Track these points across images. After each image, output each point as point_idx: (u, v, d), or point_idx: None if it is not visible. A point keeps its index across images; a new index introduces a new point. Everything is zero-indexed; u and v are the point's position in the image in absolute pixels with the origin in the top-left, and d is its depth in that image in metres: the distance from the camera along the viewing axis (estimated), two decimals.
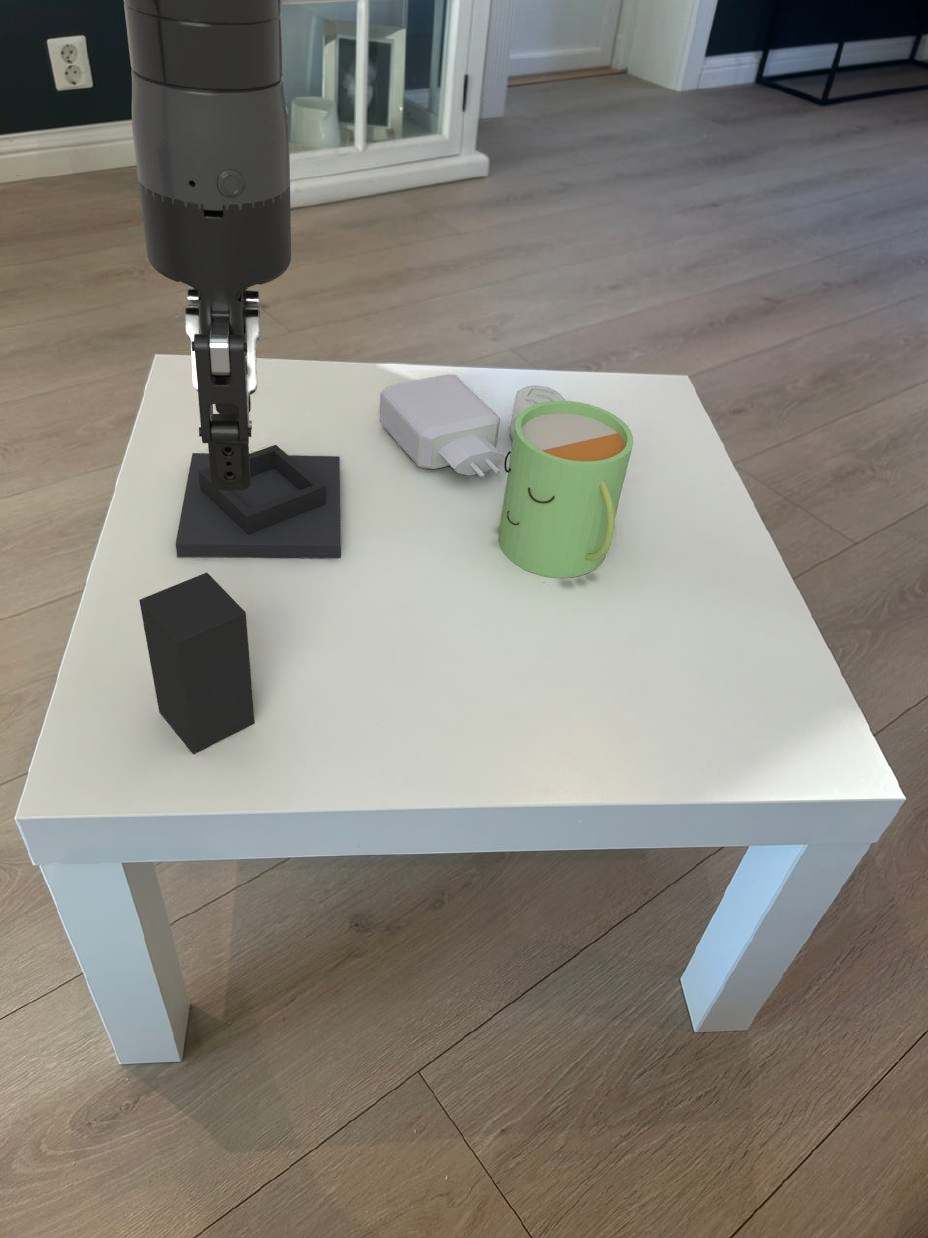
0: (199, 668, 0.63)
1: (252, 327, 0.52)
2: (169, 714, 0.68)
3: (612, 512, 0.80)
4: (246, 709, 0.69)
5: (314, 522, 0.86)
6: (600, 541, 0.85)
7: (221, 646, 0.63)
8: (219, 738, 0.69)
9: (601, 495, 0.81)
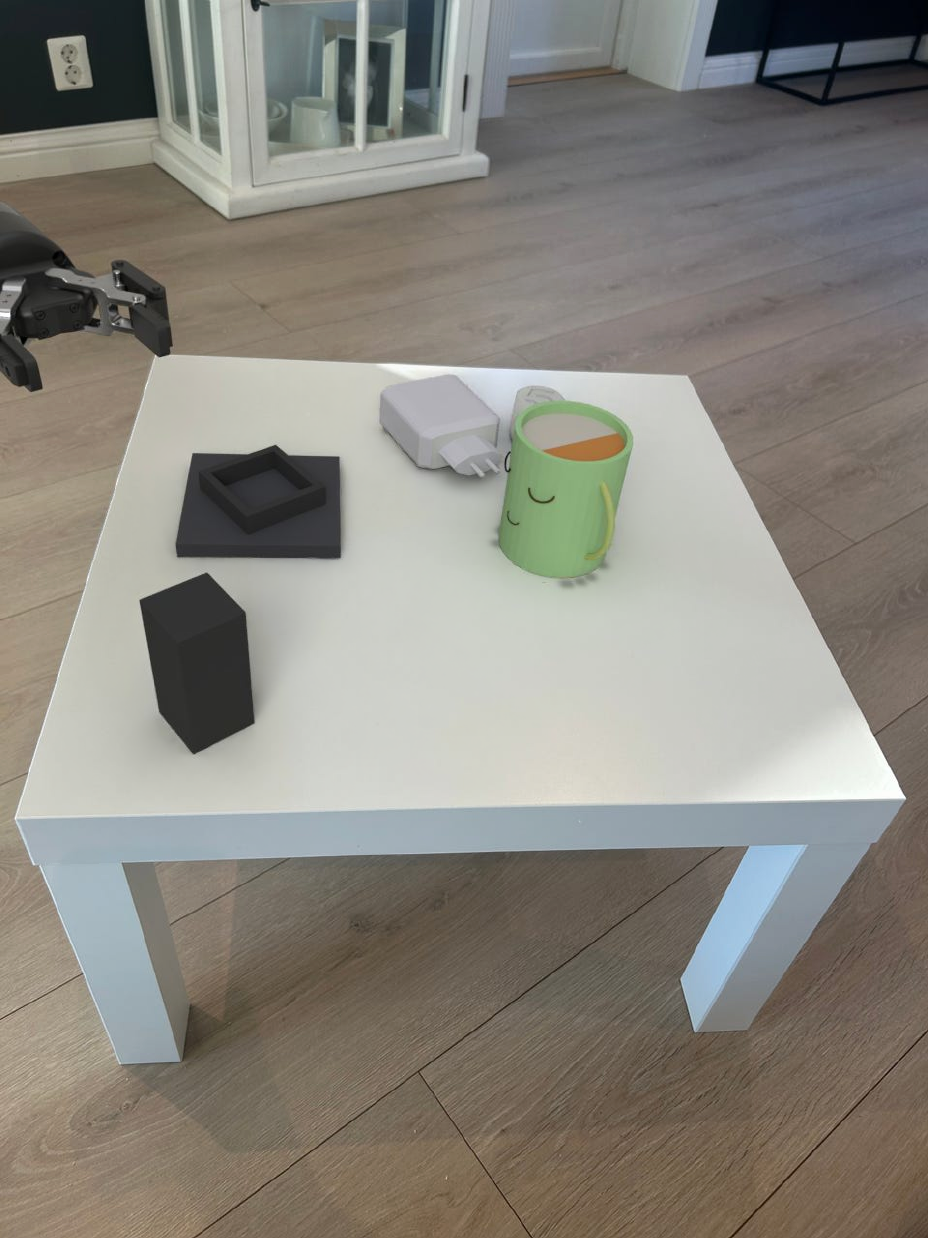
0: (199, 668, 0.63)
1: None
2: (169, 714, 0.68)
3: (612, 512, 0.80)
4: (246, 709, 0.69)
5: (314, 522, 0.86)
6: (600, 541, 0.85)
7: (221, 646, 0.63)
8: (219, 738, 0.69)
9: (601, 495, 0.81)
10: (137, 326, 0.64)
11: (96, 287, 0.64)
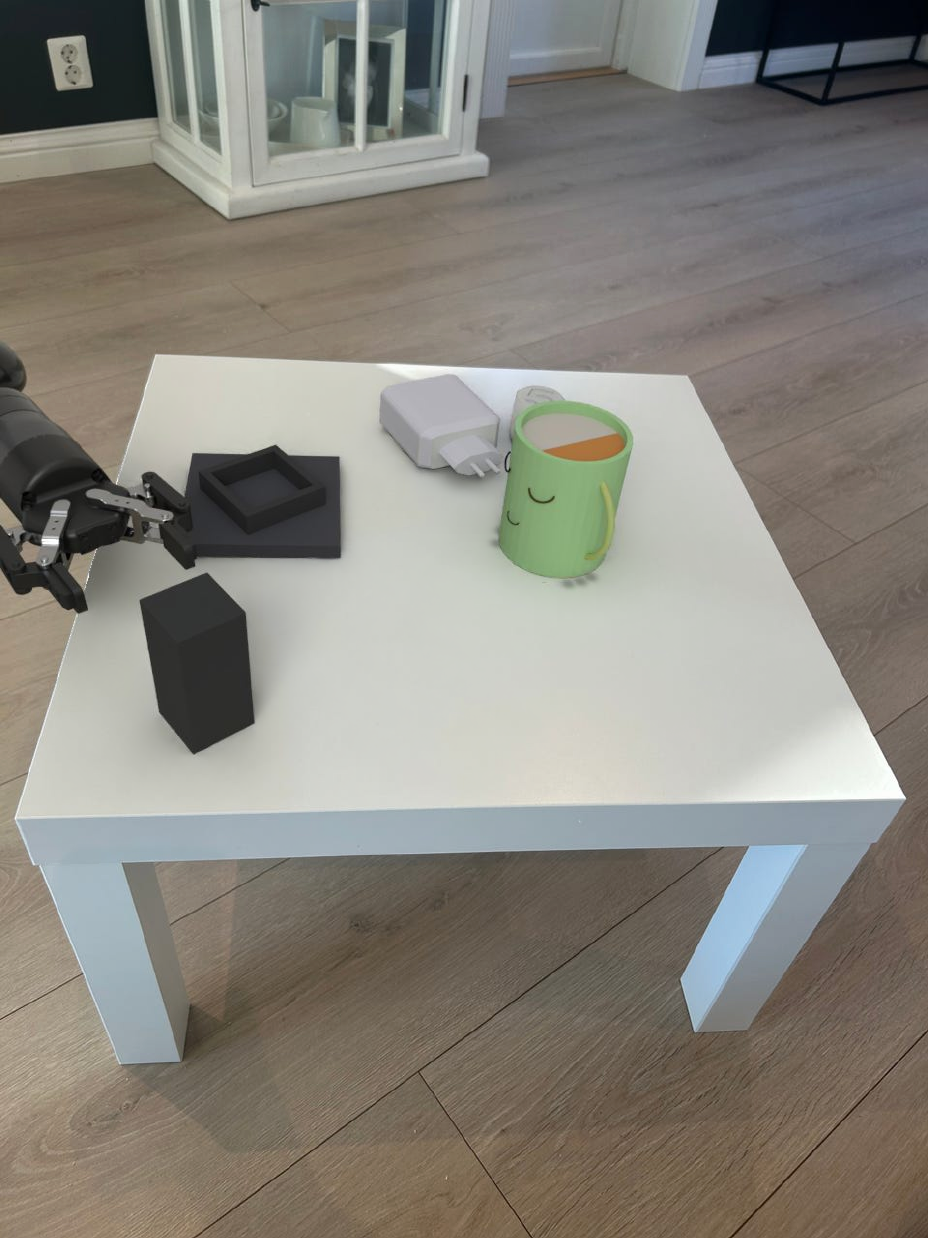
0: (199, 668, 0.63)
1: None
2: (169, 714, 0.68)
3: (612, 512, 0.80)
4: (246, 709, 0.69)
5: (314, 522, 0.86)
6: (600, 541, 0.85)
7: (221, 646, 0.63)
8: (219, 738, 0.69)
9: (601, 495, 0.81)
10: (166, 541, 0.74)
11: (131, 508, 0.74)
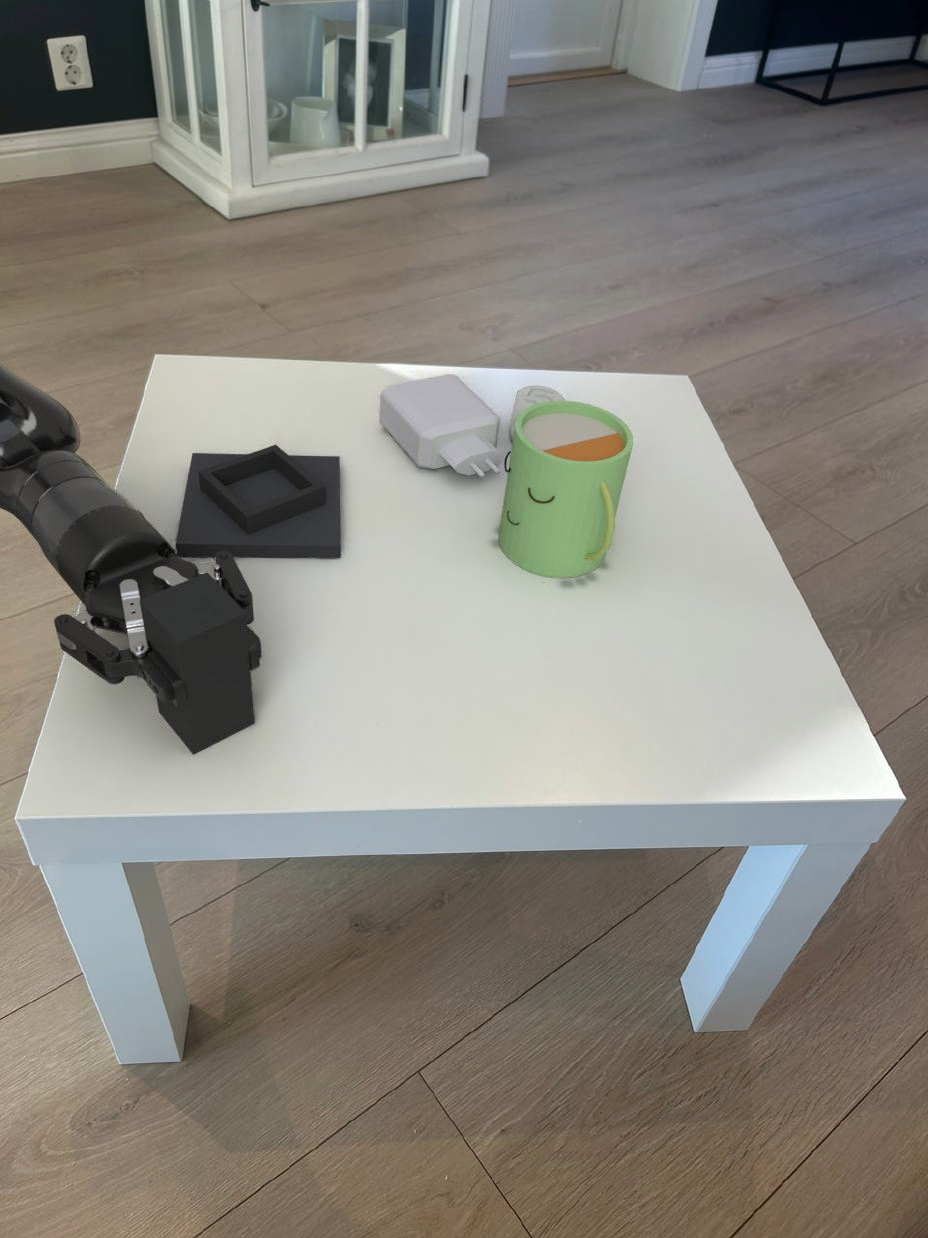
0: (199, 669, 0.63)
1: (121, 594, 0.67)
2: (169, 714, 0.68)
3: (612, 512, 0.80)
4: (246, 710, 0.69)
5: (314, 522, 0.86)
6: (600, 541, 0.85)
7: (222, 646, 0.63)
8: (219, 738, 0.69)
9: (601, 495, 0.81)
10: None
11: None
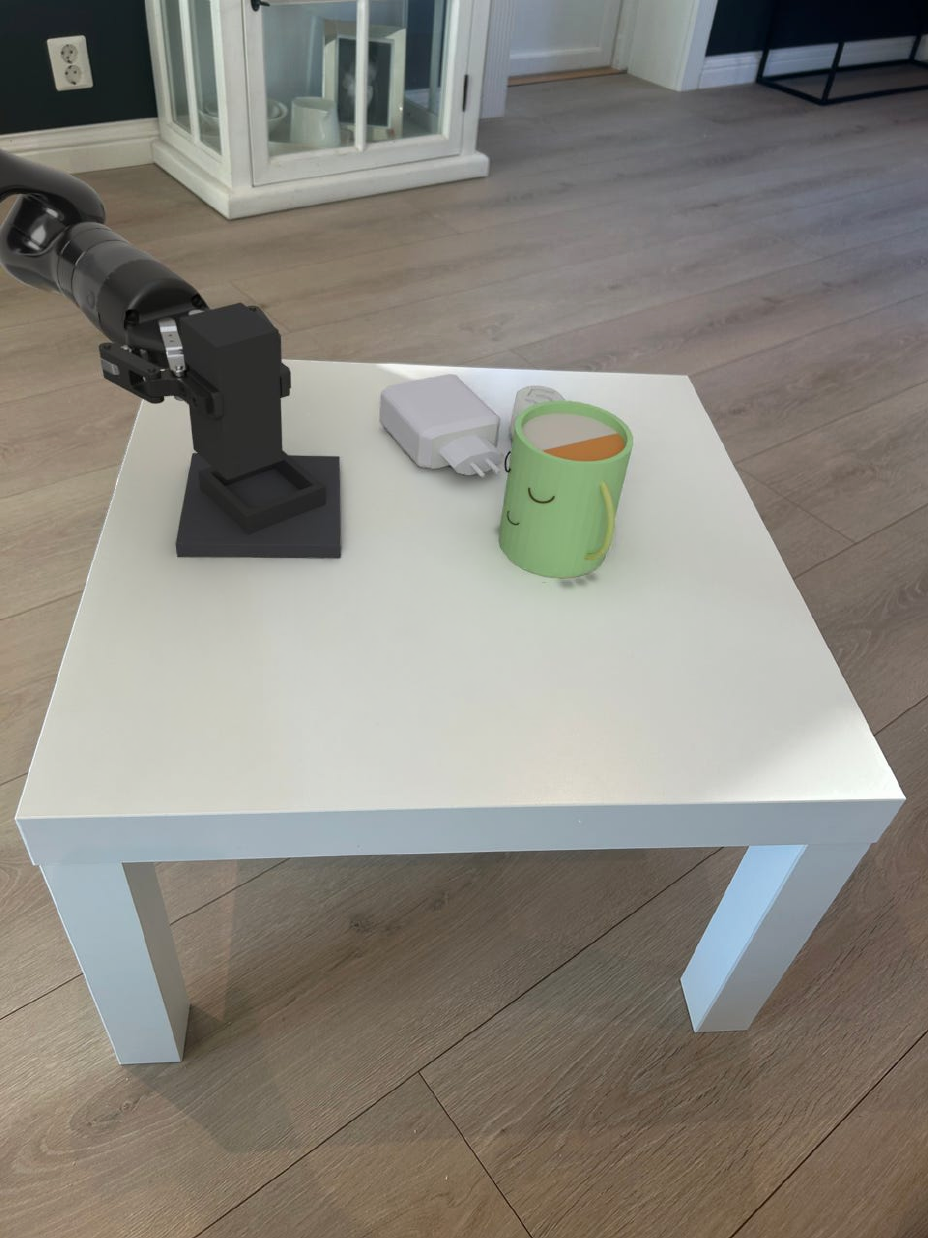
0: (235, 382, 0.68)
1: (159, 329, 0.72)
2: (204, 444, 0.73)
3: (612, 512, 0.80)
4: (275, 442, 0.74)
5: (314, 522, 0.86)
6: (600, 541, 0.85)
7: (256, 362, 0.68)
8: (251, 468, 0.74)
9: (601, 495, 0.81)
10: None
11: None
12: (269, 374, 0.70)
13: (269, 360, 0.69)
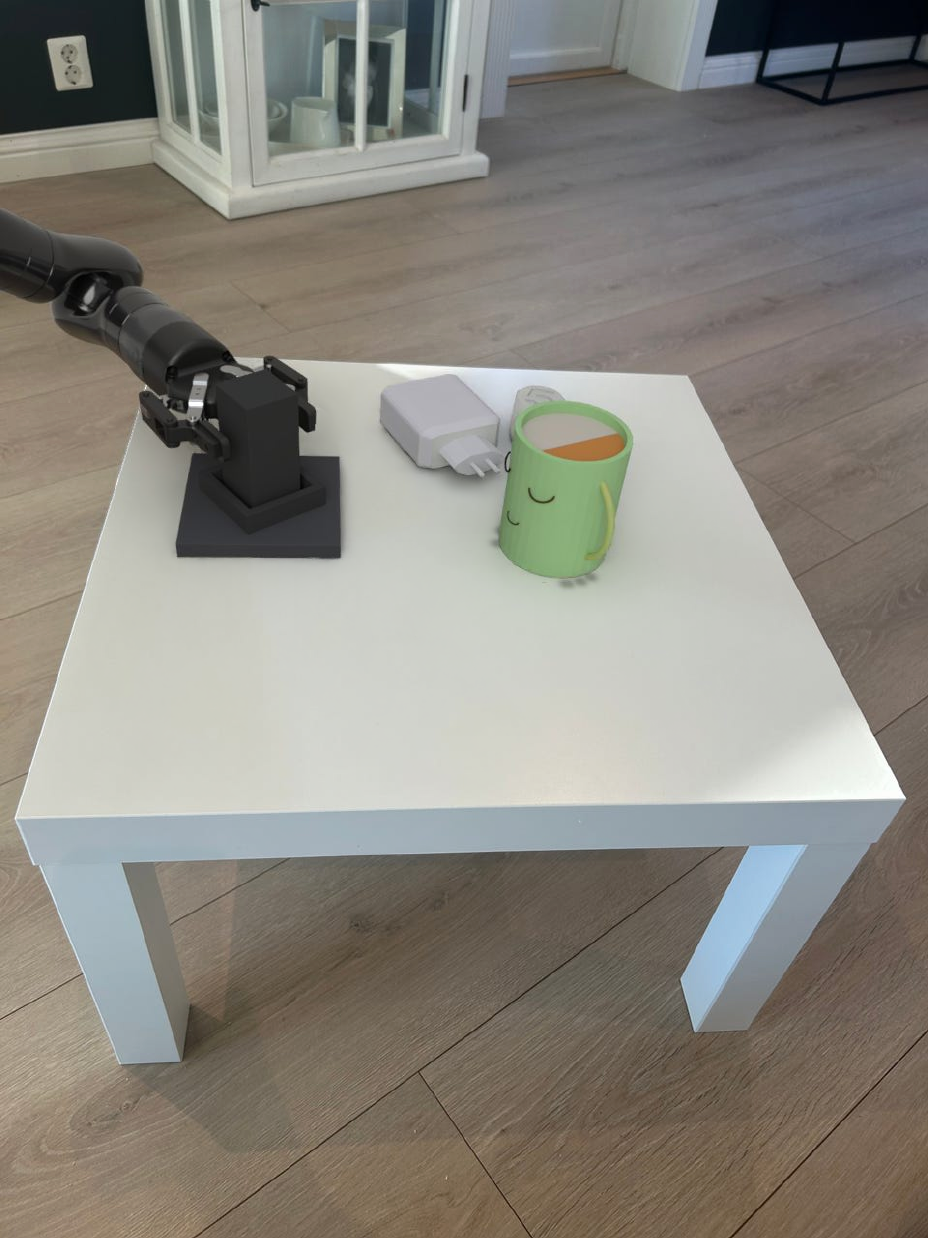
0: (262, 438, 0.81)
1: None
2: (234, 488, 0.86)
3: (612, 512, 0.80)
4: (294, 485, 0.87)
5: (314, 522, 0.86)
6: (600, 541, 0.85)
7: (279, 420, 0.81)
8: None
9: (601, 495, 0.81)
10: None
11: None
12: (290, 430, 0.83)
13: (290, 418, 0.82)
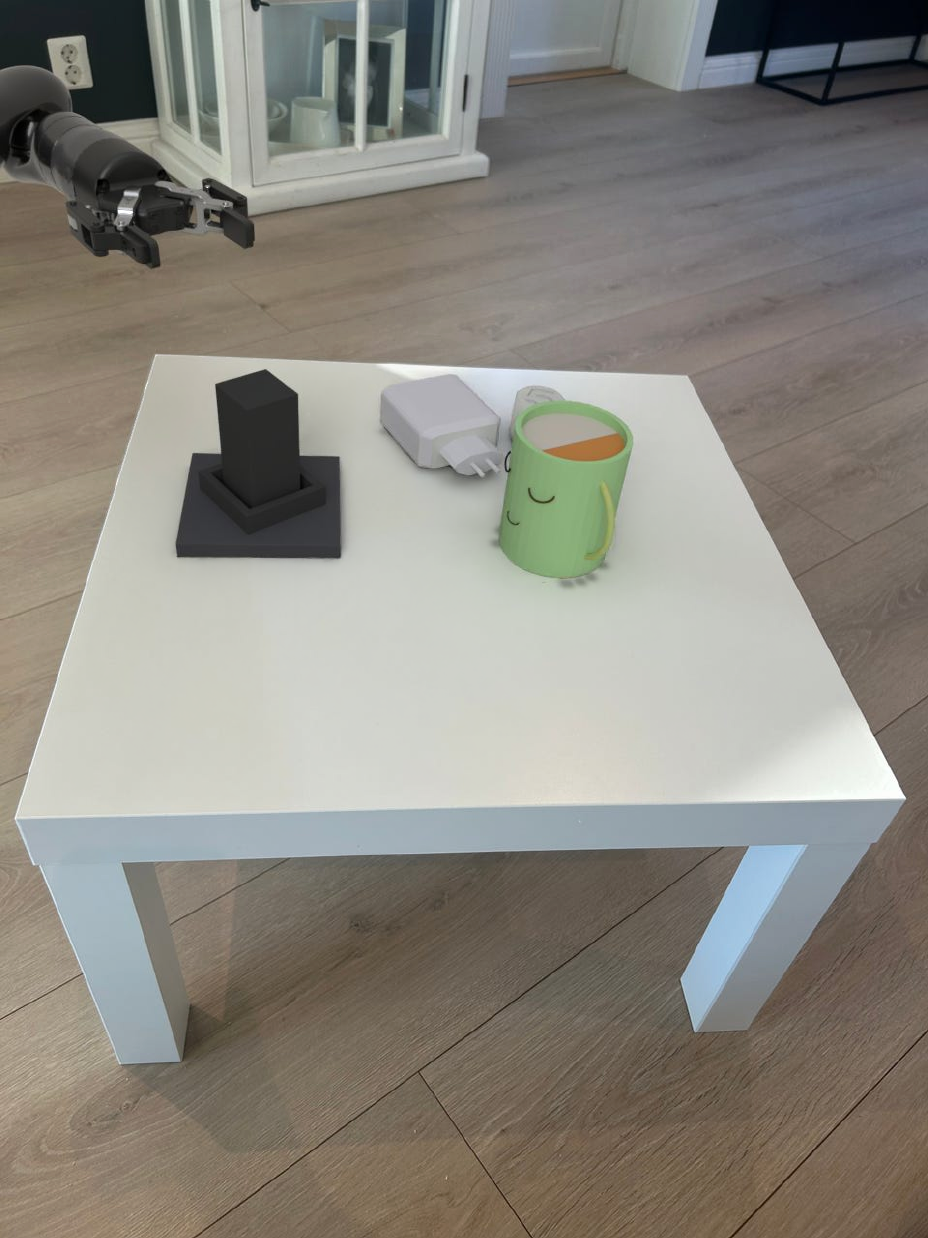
0: (262, 438, 0.81)
1: None
2: (234, 488, 0.86)
3: (612, 512, 0.80)
4: (294, 485, 0.87)
5: (314, 522, 0.86)
6: (600, 541, 0.85)
7: (279, 420, 0.81)
8: None
9: (601, 495, 0.81)
10: (226, 225, 0.82)
11: (195, 195, 0.82)
12: (290, 430, 0.83)
13: (290, 418, 0.82)
